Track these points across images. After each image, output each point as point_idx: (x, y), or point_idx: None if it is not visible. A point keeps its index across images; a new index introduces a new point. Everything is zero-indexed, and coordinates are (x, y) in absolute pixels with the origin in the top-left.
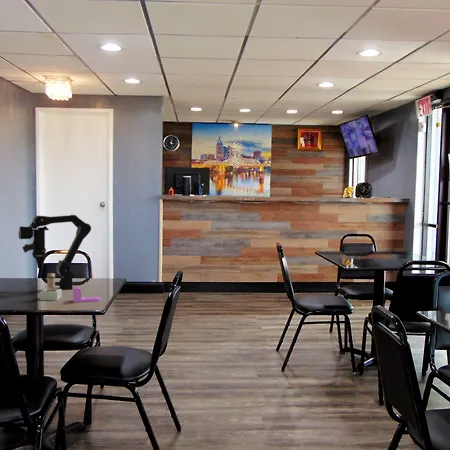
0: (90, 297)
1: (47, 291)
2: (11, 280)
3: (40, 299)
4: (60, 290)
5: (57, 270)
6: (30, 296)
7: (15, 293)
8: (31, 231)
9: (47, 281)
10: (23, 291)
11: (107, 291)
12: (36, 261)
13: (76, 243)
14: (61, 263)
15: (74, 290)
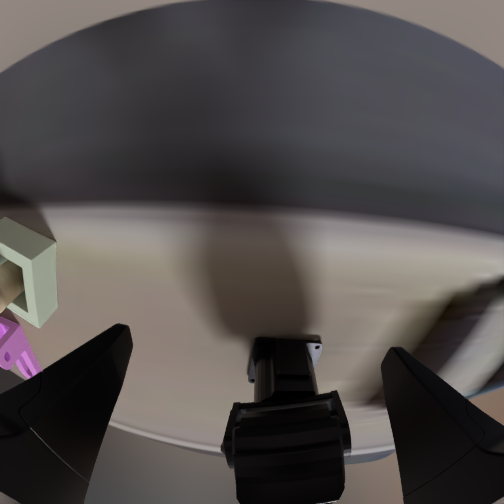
0: (30, 368)
1: (2, 264)
2: None
3: (3, 220)
4: (25, 318)
5: (290, 426)
6: (76, 164)
7: (210, 56)
8: None
9: None
10: (281, 109)
11: (166, 435)
12: (25, 381)
13: None
14: (242, 491)
15: None
